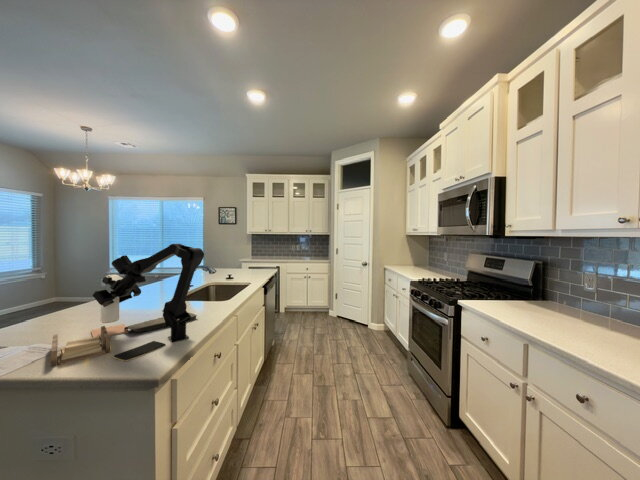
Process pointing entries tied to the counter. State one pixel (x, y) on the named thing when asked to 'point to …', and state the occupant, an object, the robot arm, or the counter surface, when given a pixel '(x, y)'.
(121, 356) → the smartphone
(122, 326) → the tile
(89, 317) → the counter surface
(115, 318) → the can
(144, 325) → the stone slab
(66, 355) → the rack
